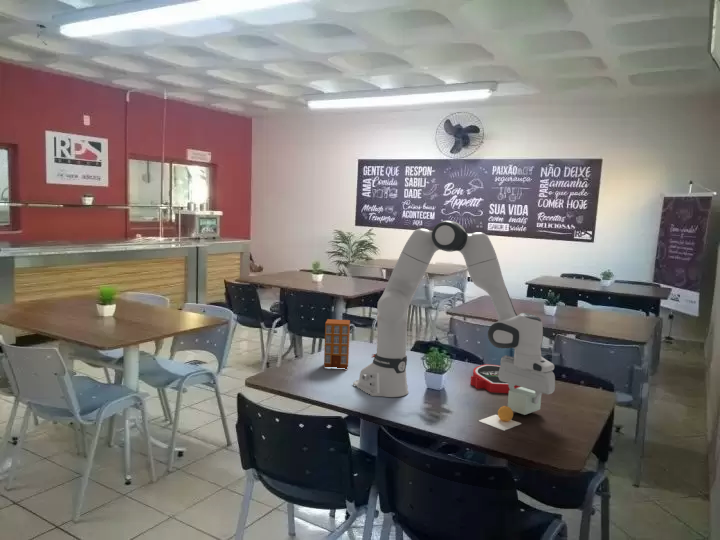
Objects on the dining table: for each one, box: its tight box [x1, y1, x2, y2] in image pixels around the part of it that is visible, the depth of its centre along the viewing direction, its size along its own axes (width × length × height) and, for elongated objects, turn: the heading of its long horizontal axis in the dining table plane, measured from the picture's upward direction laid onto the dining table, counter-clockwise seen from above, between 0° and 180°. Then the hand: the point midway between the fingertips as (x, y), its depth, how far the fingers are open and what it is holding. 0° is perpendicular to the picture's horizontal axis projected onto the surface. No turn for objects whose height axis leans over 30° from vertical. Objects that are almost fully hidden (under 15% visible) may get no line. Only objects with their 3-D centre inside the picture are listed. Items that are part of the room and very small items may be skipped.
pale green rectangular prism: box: [507, 387, 542, 416], centre depth 195 cm, size 7×10×7 cm
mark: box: [478, 414, 522, 432], centre depth 186 cm, size 10×10×1 cm
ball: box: [497, 405, 514, 421], centre depth 187 cm, size 5×5×5 cm
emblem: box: [470, 363, 520, 394], centre depth 231 cm, size 30×4×30 cm
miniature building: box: [323, 318, 351, 370], centre depth 242 cm, size 10×9×20 cm
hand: (524, 399), depth 194 cm, fingers closed on pale green rectangular prism, 7 cm apart
